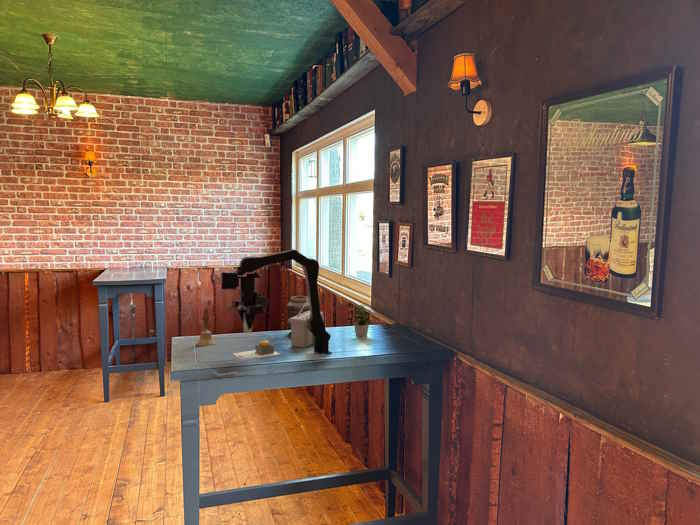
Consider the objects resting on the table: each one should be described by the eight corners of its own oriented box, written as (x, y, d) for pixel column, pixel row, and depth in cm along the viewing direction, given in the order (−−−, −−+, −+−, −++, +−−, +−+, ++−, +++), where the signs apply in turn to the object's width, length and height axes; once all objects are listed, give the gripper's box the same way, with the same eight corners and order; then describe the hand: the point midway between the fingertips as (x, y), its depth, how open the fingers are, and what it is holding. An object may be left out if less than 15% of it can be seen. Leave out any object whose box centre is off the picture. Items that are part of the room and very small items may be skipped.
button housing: (274, 352, 213) (274, 345, 213) (261, 354, 210) (261, 347, 210) (268, 349, 218) (268, 342, 218) (255, 351, 215) (255, 344, 214)
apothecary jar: (283, 335, 248) (283, 298, 246) (292, 330, 259) (292, 294, 258) (307, 337, 245) (307, 299, 243) (315, 331, 256) (315, 295, 255)
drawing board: (280, 356, 212) (280, 353, 211) (243, 361, 202) (243, 359, 202) (268, 350, 220) (268, 347, 220) (232, 355, 211) (232, 353, 211)
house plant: (339, 334, 251) (340, 301, 250) (365, 332, 257) (365, 299, 256) (352, 341, 238) (352, 305, 237) (378, 338, 244) (379, 304, 243)
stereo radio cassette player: (305, 350, 221) (306, 303, 219) (288, 348, 224) (288, 302, 222) (324, 339, 241) (324, 296, 239) (308, 338, 244) (308, 295, 242)
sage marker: (253, 331, 206) (253, 313, 206) (245, 332, 204) (245, 313, 204) (250, 330, 209) (250, 311, 208) (242, 331, 207) (242, 312, 207)
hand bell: (208, 340, 235) (207, 306, 234) (219, 343, 230) (219, 308, 229) (192, 344, 229) (191, 308, 228) (203, 347, 224) (203, 310, 222)
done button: (270, 346, 213) (270, 342, 213) (262, 348, 211) (262, 343, 211) (266, 344, 216) (266, 340, 216) (258, 346, 214) (258, 341, 214)
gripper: (276, 290, 202) (276, 330, 203) (256, 285, 217) (256, 321, 219) (250, 292, 196) (250, 333, 197) (231, 286, 211) (231, 324, 213)
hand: (247, 328), depth 207 cm, fingers closed on sage marker, 3 cm apart
